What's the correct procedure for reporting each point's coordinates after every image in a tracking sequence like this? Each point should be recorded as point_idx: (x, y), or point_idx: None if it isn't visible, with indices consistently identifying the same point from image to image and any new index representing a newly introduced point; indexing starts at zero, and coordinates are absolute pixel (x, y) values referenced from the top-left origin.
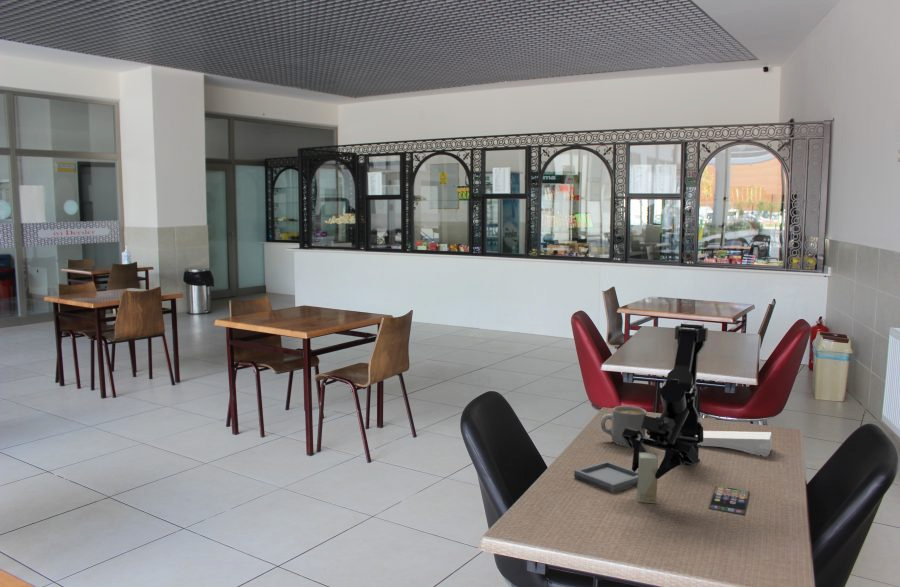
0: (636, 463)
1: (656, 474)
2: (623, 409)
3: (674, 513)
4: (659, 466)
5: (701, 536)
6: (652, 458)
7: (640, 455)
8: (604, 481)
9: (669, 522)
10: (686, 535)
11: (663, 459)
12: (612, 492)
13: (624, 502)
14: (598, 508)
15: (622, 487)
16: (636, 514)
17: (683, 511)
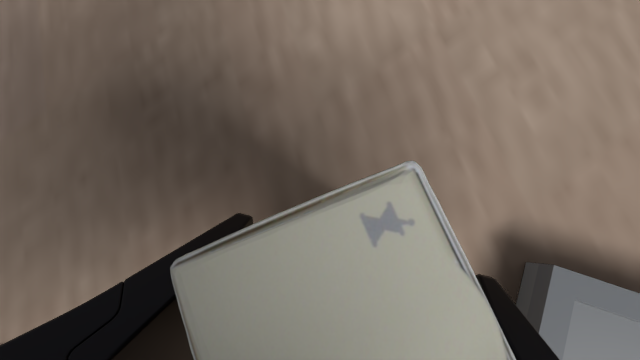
0: None
1: (236, 221)
2: None
3: (179, 183)
4: None
5: (47, 26)
6: (249, 241)
7: (467, 283)
8: (632, 294)
9: (178, 76)
10: (98, 3)
11: (108, 350)
12: (530, 263)
13: None
14: (485, 34)
15: None
16: (320, 72)
17: (147, 232)
